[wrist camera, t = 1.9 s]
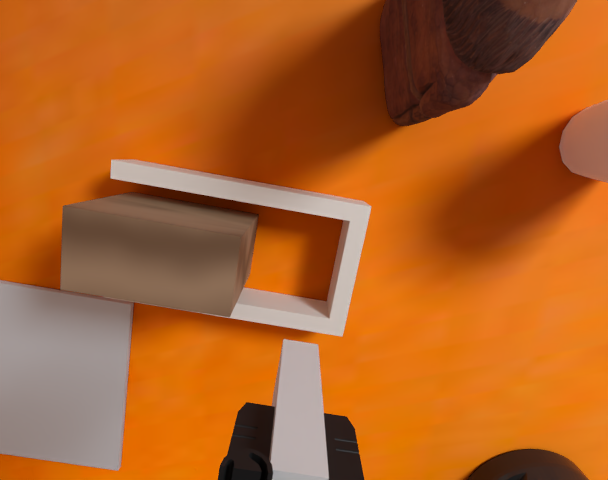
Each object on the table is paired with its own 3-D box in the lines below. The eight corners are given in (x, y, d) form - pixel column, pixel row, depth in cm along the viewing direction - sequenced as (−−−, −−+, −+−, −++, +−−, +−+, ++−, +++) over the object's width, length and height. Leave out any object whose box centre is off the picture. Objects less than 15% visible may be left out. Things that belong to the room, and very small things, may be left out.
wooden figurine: (451, 122, 32) (627, 81, 15) (380, 131, 33) (471, 101, 15) (447, -27, 30) (655, -291, 12) (370, -16, 30) (465, -262, 12)
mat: (120, 466, 40) (118, 470, 40) (-7, 447, 40) (-11, 451, 39) (133, 302, 36) (131, 304, 36) (-9, 278, 36) (-14, 280, 35)
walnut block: (249, 273, 36) (229, 317, 26) (127, 252, 35) (60, 289, 25) (259, 214, 34) (241, 237, 24) (132, 191, 34) (62, 205, 24)
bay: (338, 317, 37) (342, 336, 33) (125, 281, 36) (103, 297, 32) (363, 201, 34) (371, 206, 30) (134, 159, 33) (111, 159, 29)
